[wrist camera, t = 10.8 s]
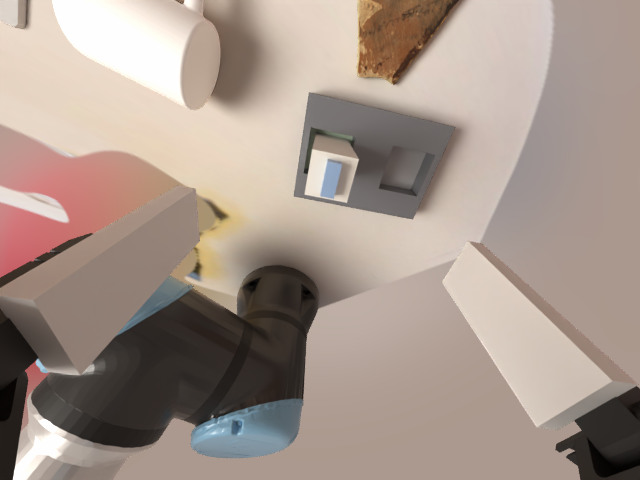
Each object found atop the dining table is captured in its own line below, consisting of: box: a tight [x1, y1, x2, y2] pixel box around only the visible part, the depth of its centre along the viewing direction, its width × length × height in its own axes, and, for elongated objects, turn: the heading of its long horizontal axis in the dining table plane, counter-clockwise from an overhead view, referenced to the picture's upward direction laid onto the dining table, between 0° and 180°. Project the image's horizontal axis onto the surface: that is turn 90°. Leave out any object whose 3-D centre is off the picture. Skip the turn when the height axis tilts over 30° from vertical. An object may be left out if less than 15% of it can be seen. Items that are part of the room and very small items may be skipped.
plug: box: [304, 132, 359, 203], centre depth 25 cm, size 4×4×13 cm
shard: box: [356, 0, 458, 85], centre depth 24 cm, size 11×8×2 cm
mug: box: [52, 0, 221, 110], centre depth 21 cm, size 12×10×8 cm
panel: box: [294, 92, 455, 219], centre depth 30 cm, size 12×17×3 cm
